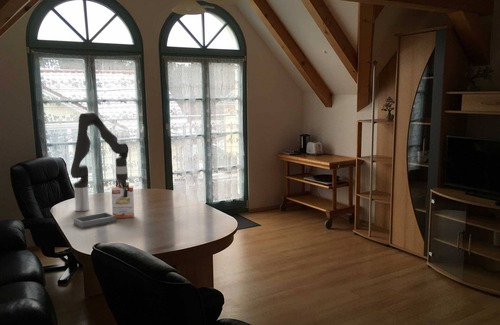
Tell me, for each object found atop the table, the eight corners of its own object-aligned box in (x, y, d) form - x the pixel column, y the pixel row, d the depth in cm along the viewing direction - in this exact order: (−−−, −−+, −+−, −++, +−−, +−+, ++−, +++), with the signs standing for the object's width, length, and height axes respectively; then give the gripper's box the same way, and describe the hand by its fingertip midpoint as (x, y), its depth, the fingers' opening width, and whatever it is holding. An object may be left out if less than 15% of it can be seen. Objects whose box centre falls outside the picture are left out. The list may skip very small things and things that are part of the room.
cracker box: (112, 219, 279) (111, 188, 276) (113, 216, 285) (111, 186, 282) (134, 217, 283) (133, 187, 280) (134, 215, 288) (133, 185, 286)
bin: (73, 224, 267) (73, 218, 267) (106, 217, 282) (106, 212, 282) (82, 228, 257) (82, 222, 257) (115, 221, 272) (115, 215, 272)
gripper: (111, 172, 282) (112, 195, 284) (121, 174, 272) (122, 198, 274) (121, 170, 287) (122, 193, 289) (132, 173, 277) (133, 197, 279)
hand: (122, 196), depth 282 cm, fingers closed on cracker box, 8 cm apart
